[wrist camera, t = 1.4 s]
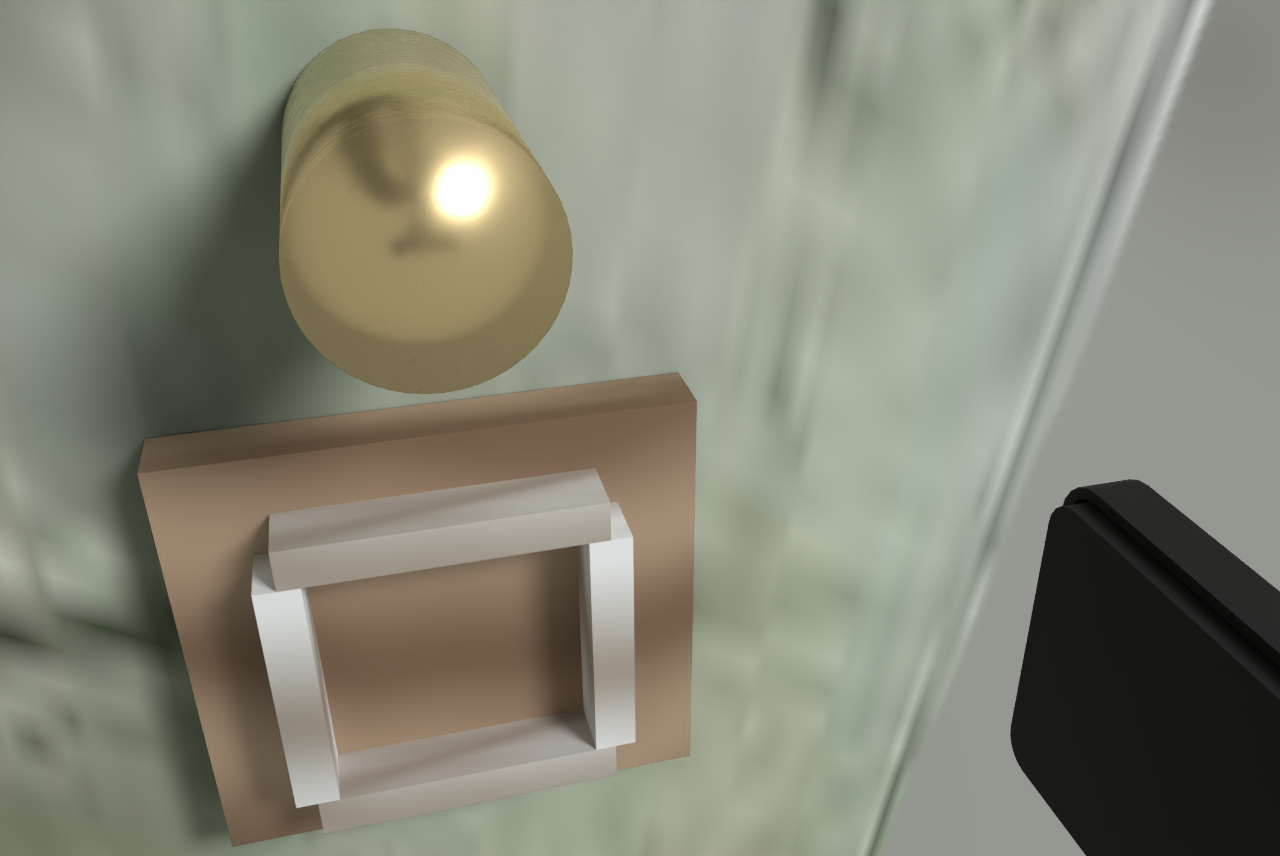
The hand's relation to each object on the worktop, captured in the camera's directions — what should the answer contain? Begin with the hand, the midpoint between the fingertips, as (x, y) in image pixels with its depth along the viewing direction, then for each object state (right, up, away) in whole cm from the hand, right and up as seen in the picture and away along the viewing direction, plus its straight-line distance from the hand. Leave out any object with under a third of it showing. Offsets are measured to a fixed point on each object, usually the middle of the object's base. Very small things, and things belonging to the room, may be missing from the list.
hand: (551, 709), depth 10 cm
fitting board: (-4, -2, +19) cm, 20 cm away
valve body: (-4, +8, +14) cm, 17 cm away
